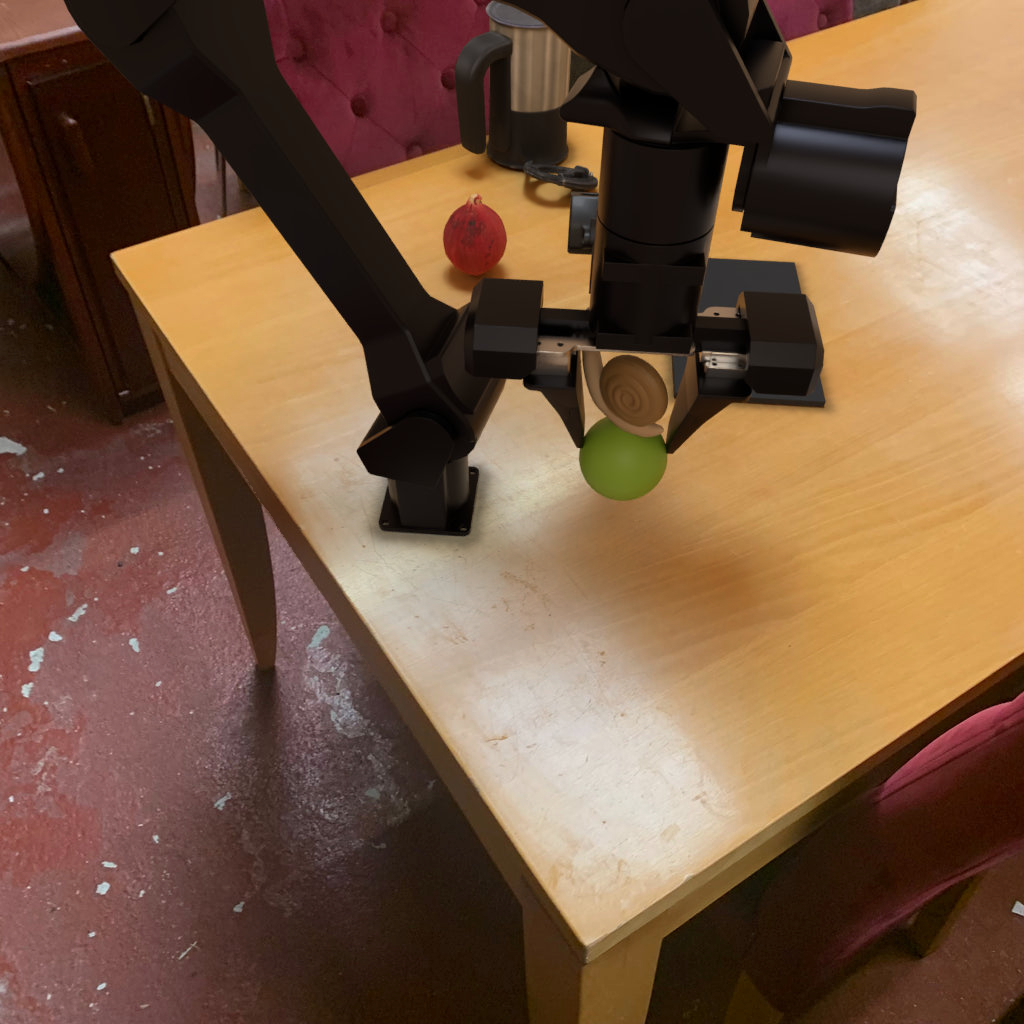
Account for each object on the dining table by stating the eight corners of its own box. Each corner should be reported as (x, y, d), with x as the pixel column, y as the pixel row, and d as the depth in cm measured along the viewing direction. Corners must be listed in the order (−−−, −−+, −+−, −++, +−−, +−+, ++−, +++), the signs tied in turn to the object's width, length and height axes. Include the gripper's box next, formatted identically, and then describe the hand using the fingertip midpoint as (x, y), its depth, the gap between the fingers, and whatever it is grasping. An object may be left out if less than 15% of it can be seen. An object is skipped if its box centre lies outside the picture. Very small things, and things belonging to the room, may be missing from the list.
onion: (499, 296, 82) (498, 216, 76) (438, 288, 82) (433, 209, 76) (512, 261, 85) (512, 182, 79) (453, 254, 86) (449, 176, 80)
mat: (824, 407, 72) (826, 401, 71) (673, 398, 72) (675, 392, 72) (793, 267, 85) (794, 262, 84) (666, 261, 85) (667, 255, 85)
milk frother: (514, 125, 104) (515, -15, 93) (636, 159, 99) (652, 15, 88) (446, 177, 96) (438, 30, 85) (575, 217, 91) (585, 66, 80)
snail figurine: (598, 440, 60) (610, 287, 51) (678, 483, 57) (706, 330, 48) (548, 484, 57) (551, 331, 48) (629, 532, 55) (649, 379, 46)
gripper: (827, 144, 48) (765, 371, 60) (482, 129, 49) (487, 355, 61) (863, 259, 41) (784, 492, 52) (456, 239, 42) (468, 472, 53)
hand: (624, 446), depth 55 cm, fingers closed on snail figurine, 5 cm apart
